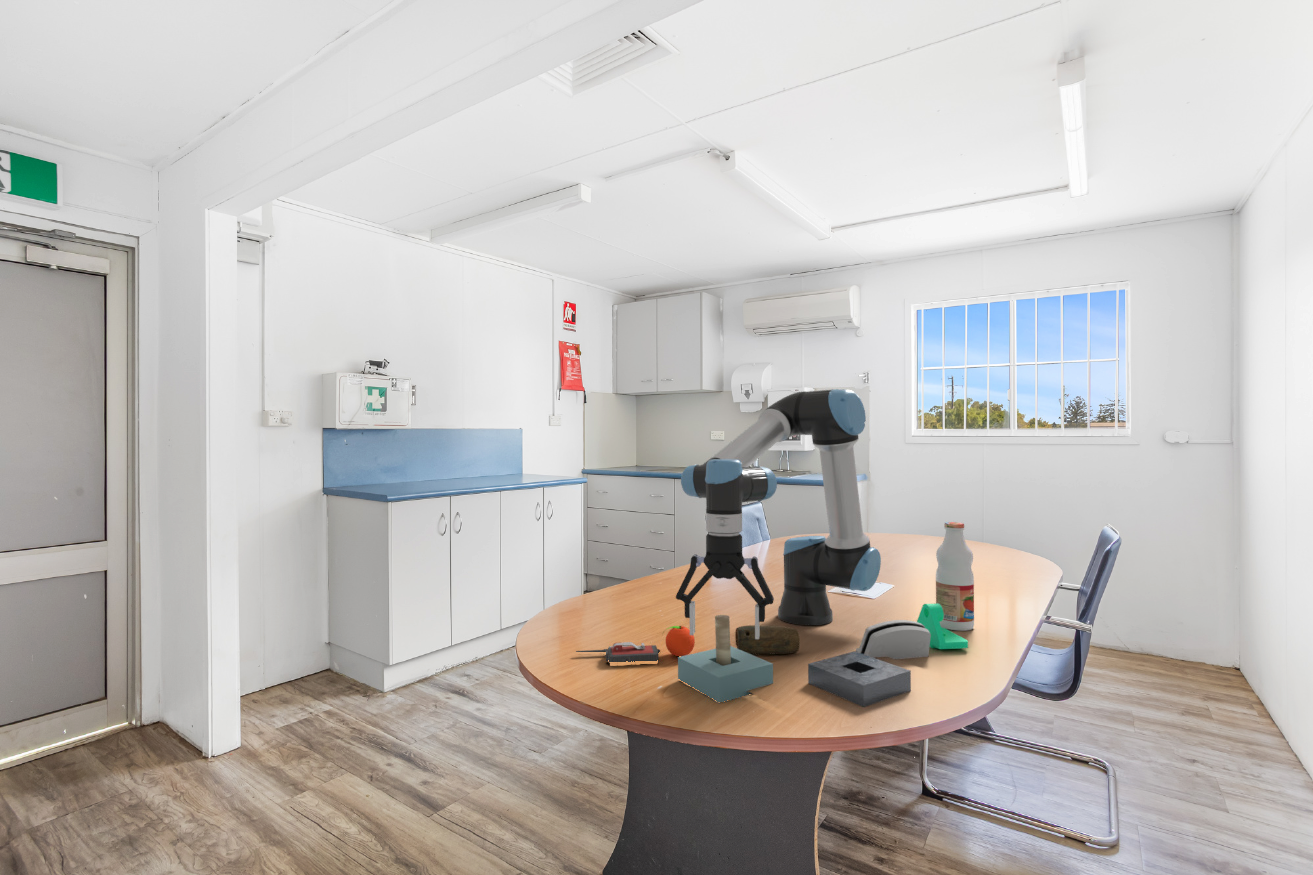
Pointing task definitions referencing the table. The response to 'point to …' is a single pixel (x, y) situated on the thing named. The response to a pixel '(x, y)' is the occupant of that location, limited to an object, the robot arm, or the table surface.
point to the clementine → (679, 641)
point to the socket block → (724, 674)
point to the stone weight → (767, 640)
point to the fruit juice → (955, 580)
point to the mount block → (859, 678)
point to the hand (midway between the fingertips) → (724, 635)
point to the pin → (722, 640)
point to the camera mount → (939, 628)
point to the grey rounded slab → (896, 640)
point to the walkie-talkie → (629, 652)
